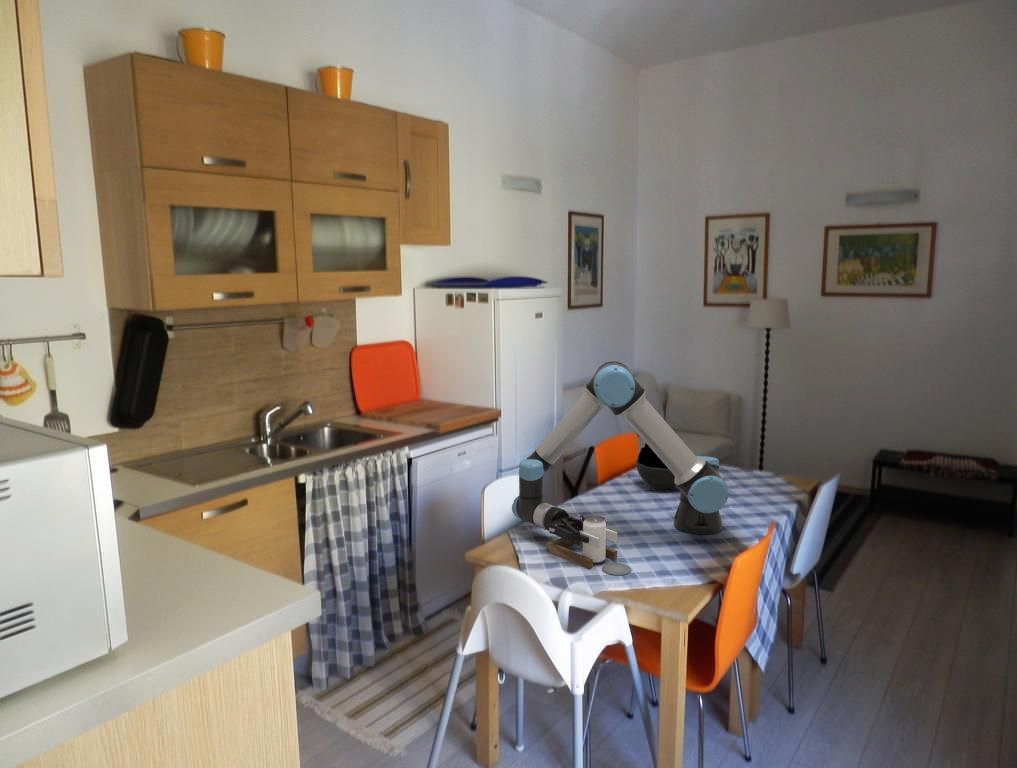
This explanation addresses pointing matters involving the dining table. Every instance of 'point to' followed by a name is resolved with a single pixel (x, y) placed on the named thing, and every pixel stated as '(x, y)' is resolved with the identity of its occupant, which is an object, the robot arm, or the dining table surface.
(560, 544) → the u-shaped wooden frame
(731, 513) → the dining table surface
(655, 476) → the coal bowl
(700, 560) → the dining table surface
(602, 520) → the can
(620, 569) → the felt pad
